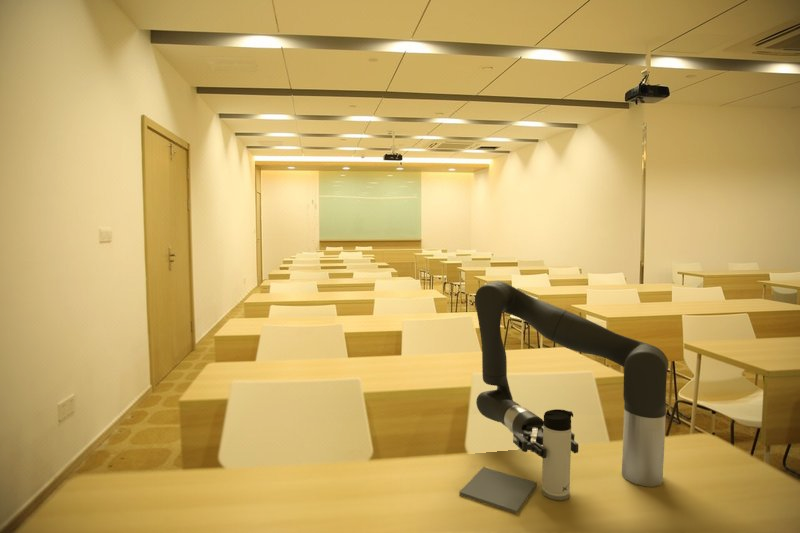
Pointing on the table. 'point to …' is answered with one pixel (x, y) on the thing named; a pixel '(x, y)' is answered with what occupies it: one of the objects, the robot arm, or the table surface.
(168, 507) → the table surface
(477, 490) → the gray mat
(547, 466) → the travel mug
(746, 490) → the table surface
